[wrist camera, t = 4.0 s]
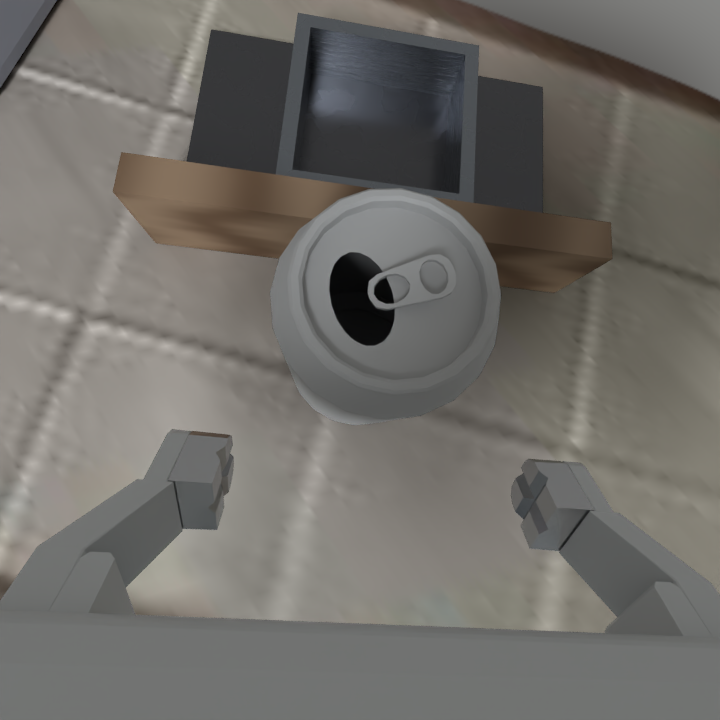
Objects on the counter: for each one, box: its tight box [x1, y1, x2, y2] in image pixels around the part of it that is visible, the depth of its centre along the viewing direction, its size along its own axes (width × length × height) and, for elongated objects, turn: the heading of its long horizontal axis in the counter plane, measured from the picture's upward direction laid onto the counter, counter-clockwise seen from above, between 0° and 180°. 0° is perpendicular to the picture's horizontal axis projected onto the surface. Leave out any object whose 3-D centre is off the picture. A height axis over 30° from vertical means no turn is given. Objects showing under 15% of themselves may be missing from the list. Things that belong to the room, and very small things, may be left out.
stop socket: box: [187, 13, 543, 213], centre depth 24 cm, size 22×12×3 cm, turn 85°
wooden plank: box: [113, 152, 612, 293], centre depth 22 cm, size 24×2×5 cm, turn 85°
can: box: [270, 188, 501, 425], centre depth 17 cm, size 8×8×12 cm
